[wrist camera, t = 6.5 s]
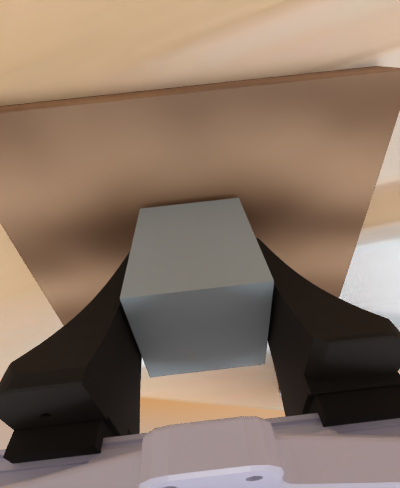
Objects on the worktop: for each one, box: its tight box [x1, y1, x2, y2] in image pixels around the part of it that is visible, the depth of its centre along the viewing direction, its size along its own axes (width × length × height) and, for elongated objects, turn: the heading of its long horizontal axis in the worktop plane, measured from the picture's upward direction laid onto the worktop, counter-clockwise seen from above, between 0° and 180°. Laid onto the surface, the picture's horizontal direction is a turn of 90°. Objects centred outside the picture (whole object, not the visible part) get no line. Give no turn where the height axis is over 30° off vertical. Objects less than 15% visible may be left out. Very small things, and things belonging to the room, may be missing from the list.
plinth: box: [0, 66, 400, 326], centre depth 16 cm, size 14×20×2 cm
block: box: [120, 198, 274, 377], centre depth 12 cm, size 5×5×6 cm
